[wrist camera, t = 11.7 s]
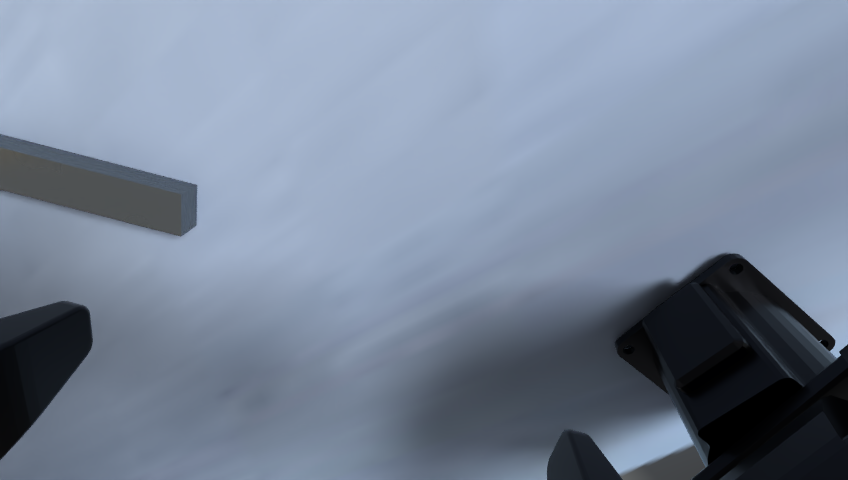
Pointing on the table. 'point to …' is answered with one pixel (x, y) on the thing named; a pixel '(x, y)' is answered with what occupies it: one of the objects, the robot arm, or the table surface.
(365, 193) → the table surface
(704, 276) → the robot arm
